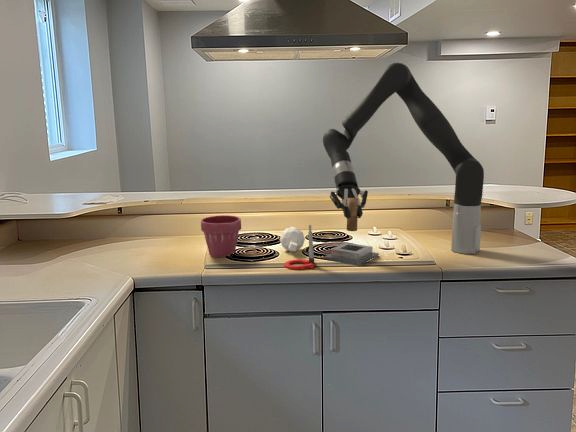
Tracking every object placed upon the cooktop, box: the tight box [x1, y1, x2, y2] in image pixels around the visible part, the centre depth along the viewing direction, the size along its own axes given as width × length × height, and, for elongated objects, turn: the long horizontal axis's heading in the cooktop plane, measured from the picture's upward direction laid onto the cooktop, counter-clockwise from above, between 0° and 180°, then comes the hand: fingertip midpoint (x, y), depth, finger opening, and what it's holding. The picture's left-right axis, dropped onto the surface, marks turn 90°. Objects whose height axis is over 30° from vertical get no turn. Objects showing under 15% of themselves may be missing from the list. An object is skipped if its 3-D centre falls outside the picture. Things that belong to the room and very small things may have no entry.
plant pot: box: [200, 214, 242, 258], centre depth 201 cm, size 14×14×13 cm
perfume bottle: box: [279, 226, 306, 253], centre depth 204 cm, size 9×9×12 cm
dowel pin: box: [346, 198, 359, 232], centre depth 193 cm, size 4×4×11 cm
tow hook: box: [283, 224, 315, 270], centre depth 186 cm, size 9×14×10 cm
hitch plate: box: [323, 242, 380, 266], centre depth 196 cm, size 14×14×4 cm
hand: (354, 216), depth 192 cm, fingers closed on dowel pin, 3 cm apart
